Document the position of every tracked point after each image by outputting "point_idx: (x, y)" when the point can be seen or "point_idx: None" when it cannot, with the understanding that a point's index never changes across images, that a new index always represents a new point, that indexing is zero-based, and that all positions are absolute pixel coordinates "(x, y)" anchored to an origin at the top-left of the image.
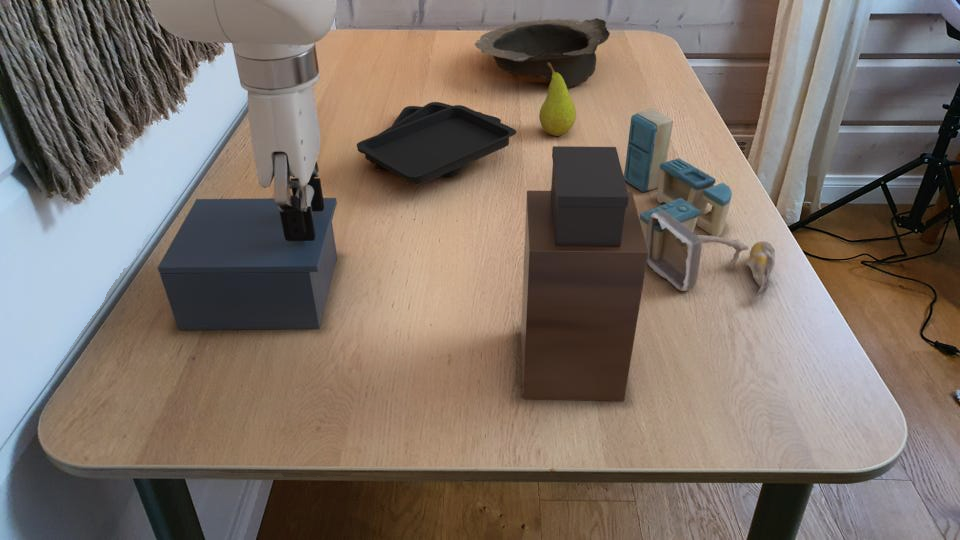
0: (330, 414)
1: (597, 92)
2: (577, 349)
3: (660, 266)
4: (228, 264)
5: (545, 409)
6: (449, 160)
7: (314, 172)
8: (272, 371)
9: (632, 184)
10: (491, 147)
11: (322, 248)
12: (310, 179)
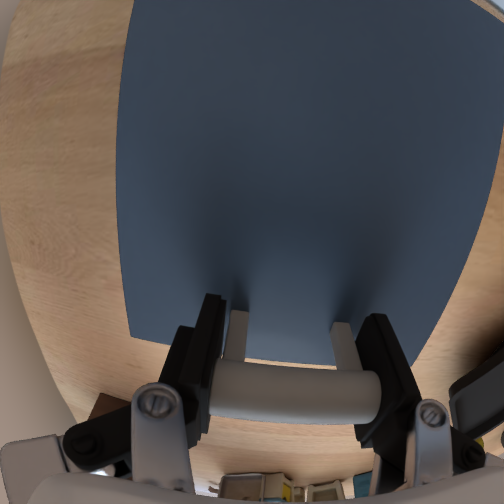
0: (47, 254)
1: (487, 442)
2: None
3: (254, 476)
4: (127, 117)
5: (95, 398)
6: (470, 404)
7: (375, 465)
8: (94, 178)
9: (365, 474)
10: None
11: None
12: (373, 439)
